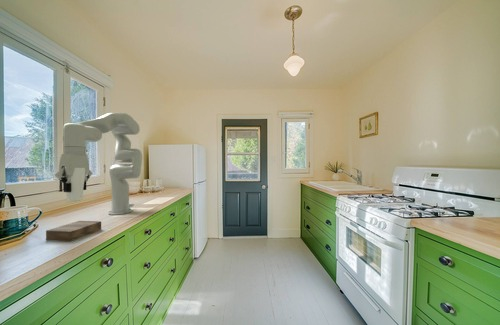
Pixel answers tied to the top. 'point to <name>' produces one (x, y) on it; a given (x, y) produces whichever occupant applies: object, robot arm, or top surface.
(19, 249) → the top surface
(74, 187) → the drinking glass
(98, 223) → the walnut block
